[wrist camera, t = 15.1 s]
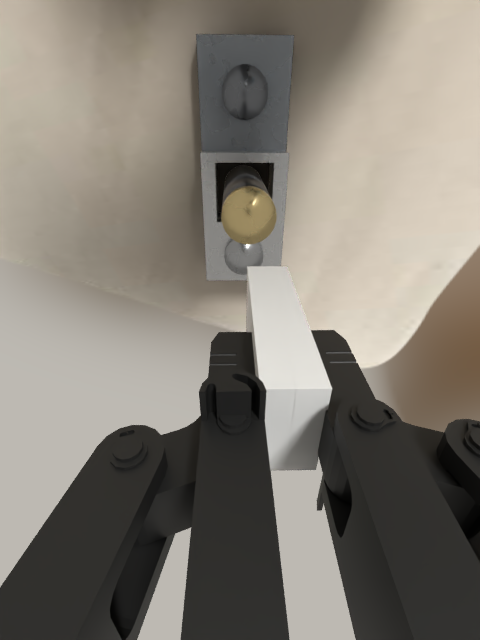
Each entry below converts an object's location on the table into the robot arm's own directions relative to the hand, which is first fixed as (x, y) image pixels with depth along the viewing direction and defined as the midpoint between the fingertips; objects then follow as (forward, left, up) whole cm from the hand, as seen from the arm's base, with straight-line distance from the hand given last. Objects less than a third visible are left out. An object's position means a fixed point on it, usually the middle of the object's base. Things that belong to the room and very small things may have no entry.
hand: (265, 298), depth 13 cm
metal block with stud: (-2, 0, -26) cm, 26 cm away
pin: (0, 0, -26) cm, 26 cm away
